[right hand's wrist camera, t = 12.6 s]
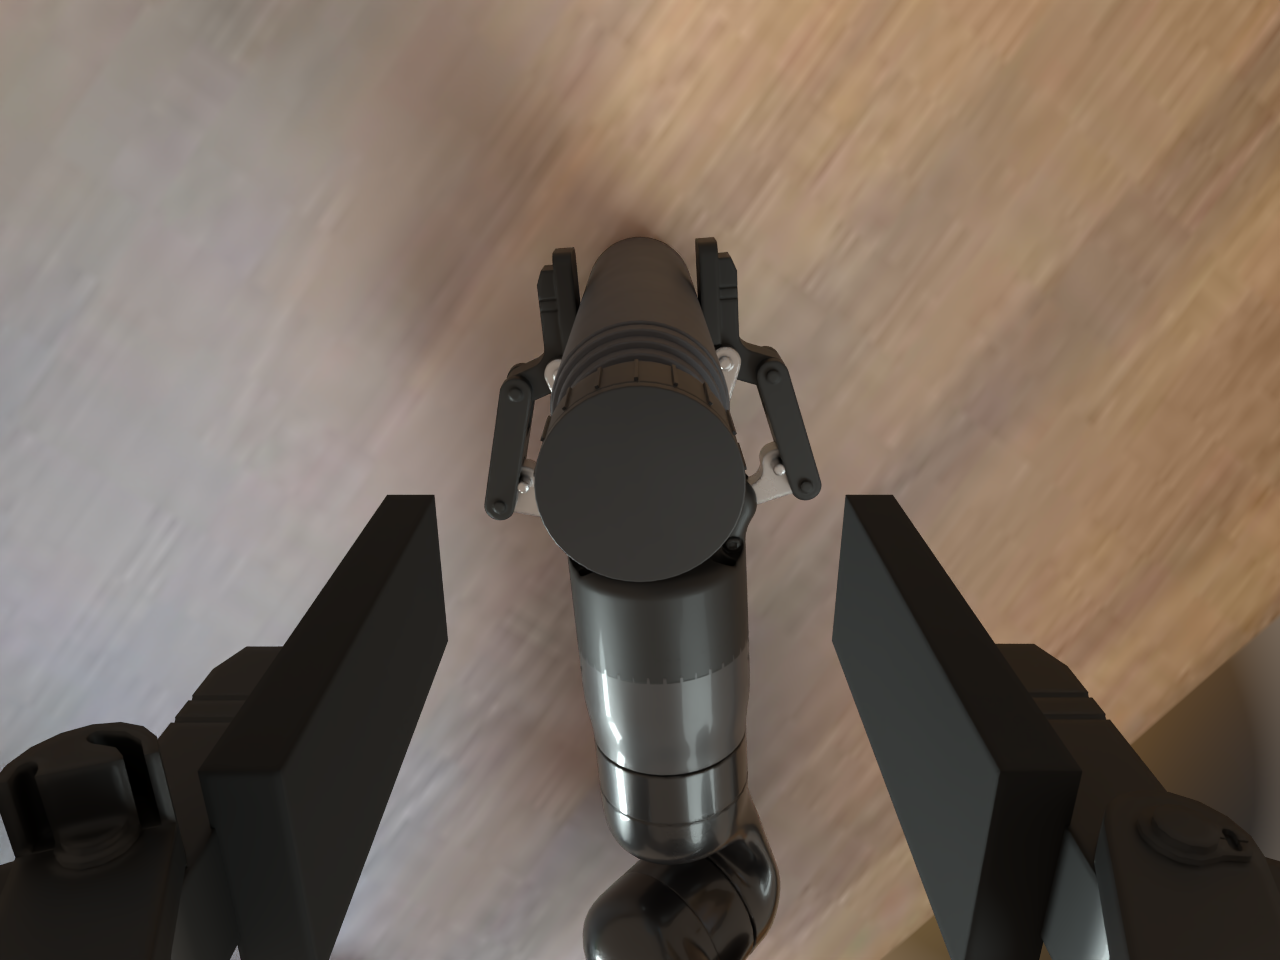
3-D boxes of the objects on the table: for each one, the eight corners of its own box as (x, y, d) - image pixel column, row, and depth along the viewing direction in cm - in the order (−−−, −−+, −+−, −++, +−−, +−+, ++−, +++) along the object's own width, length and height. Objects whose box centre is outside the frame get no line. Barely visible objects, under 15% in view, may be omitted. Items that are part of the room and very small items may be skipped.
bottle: (682, 348, 41) (729, 594, 19) (582, 333, 40) (516, 565, 19) (699, 245, 39) (773, 390, 17) (595, 229, 39) (539, 355, 17)
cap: (718, 555, 21) (726, 597, 19) (531, 529, 20) (520, 570, 19) (756, 375, 19) (768, 401, 17) (553, 345, 19) (543, 368, 17)
